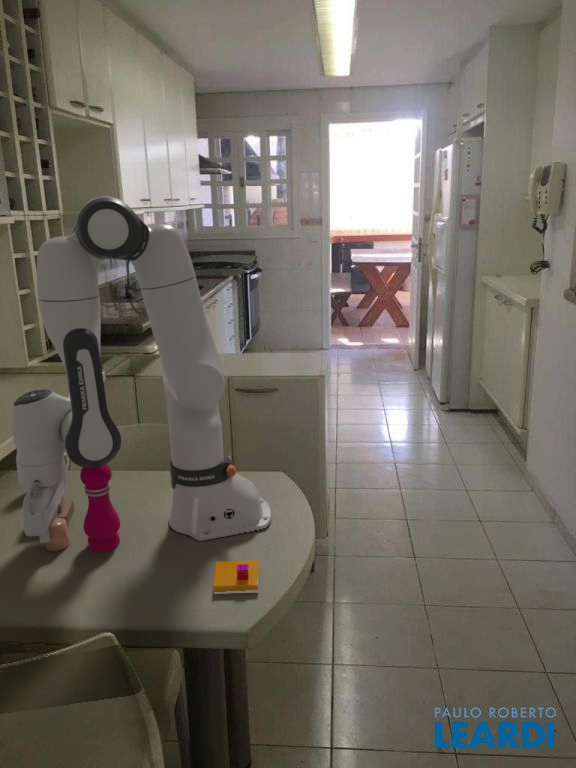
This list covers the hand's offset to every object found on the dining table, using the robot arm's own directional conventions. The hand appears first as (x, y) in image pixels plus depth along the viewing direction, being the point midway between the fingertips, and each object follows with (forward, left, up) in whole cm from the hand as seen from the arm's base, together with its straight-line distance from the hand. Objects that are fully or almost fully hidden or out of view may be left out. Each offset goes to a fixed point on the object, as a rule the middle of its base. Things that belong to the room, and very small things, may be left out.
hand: (49, 533), depth 128 cm
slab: (+2, -12, -4) cm, 12 cm away
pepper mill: (-11, +1, -3) cm, 11 cm away
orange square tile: (-37, +18, -4) cm, 42 cm away
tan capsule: (-1, 0, -3) cm, 3 cm away
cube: (+2, -12, -1) cm, 12 cm away
